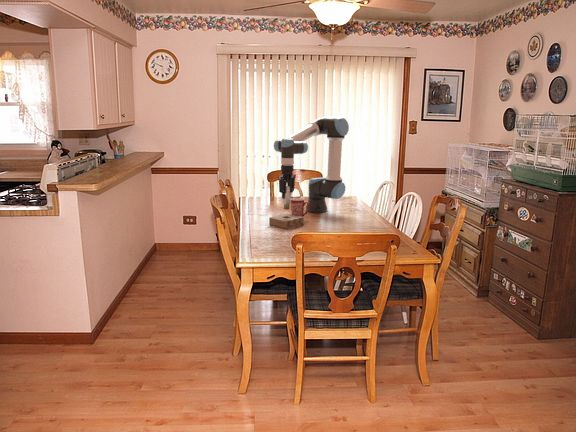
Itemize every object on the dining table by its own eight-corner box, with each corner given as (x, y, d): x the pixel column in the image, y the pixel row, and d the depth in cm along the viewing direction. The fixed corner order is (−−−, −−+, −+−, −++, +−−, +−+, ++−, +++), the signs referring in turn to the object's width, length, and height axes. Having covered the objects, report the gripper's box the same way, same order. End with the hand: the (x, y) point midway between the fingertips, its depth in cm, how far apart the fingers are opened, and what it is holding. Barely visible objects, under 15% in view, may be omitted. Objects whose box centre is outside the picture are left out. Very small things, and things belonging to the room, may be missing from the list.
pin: (286, 208, 291) (286, 185, 288) (290, 209, 289) (290, 186, 286) (282, 209, 289) (283, 186, 286) (286, 209, 286) (287, 186, 283)
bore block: (287, 221, 302) (287, 213, 301) (303, 225, 292) (303, 217, 291) (269, 225, 290) (269, 217, 289) (286, 229, 281) (286, 221, 280)
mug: (288, 220, 303) (289, 199, 300) (292, 217, 312) (292, 197, 309) (308, 221, 300) (308, 201, 297) (310, 218, 309) (311, 198, 306)
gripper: (291, 163, 291) (291, 200, 296) (273, 165, 279) (272, 204, 285) (301, 164, 286) (300, 202, 291) (282, 166, 275) (281, 206, 280)
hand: (286, 203), depth 288 cm, fingers closed on pin, 3 cm apart
